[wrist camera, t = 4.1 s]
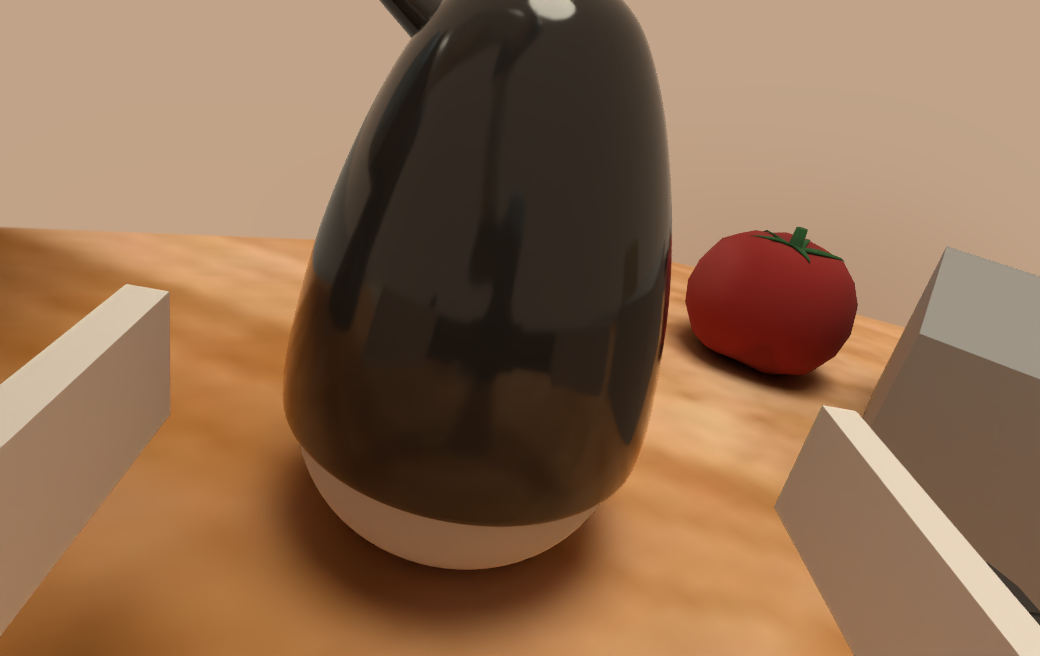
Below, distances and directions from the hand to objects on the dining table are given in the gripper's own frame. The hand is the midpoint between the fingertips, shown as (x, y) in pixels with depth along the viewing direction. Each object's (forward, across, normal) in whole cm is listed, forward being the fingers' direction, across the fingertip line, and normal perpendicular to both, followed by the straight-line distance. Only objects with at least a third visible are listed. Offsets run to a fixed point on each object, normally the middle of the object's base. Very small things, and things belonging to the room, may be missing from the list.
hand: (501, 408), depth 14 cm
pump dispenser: (+5, 0, -7) cm, 9 cm away
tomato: (+20, +15, -7) cm, 26 cm away
